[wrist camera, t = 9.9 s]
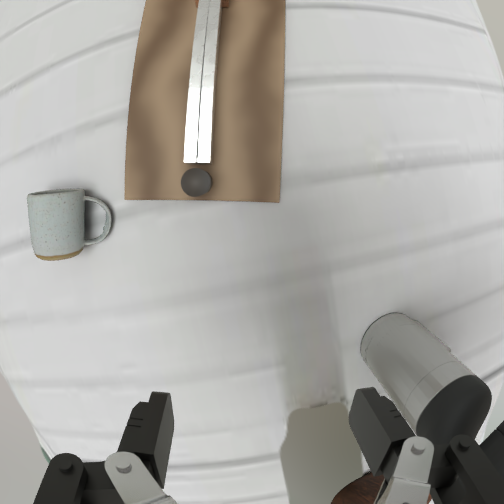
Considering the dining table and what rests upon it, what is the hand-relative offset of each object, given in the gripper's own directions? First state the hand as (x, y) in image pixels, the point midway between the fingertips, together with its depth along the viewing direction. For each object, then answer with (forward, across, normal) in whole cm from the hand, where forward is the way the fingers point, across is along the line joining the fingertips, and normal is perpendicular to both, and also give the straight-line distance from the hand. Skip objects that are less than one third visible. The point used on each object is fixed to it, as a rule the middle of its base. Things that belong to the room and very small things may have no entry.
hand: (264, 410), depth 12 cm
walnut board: (+26, +5, -23) cm, 35 cm away
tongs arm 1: (+25, +4, -23) cm, 34 cm away
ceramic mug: (+26, +21, -5) cm, 34 cm away
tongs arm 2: (+25, +6, -23) cm, 34 cm away
